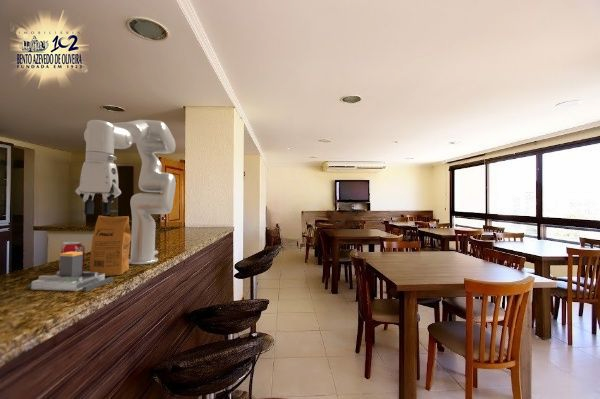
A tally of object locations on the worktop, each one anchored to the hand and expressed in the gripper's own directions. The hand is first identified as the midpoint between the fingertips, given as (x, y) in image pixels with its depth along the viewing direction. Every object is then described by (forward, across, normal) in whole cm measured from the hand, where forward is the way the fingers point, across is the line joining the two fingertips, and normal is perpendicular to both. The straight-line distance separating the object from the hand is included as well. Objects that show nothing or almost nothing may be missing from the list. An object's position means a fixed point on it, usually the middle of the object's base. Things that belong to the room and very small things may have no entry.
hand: (97, 213), depth 92 cm
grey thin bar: (+23, -2, 0) cm, 23 cm away
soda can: (+24, +17, -11) cm, 31 cm away
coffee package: (+24, +6, -15) cm, 29 cm away
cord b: (+23, +16, 0) cm, 29 cm away
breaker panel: (+23, +8, 0) cm, 25 cm away
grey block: (+21, +8, 0) cm, 22 cm away
